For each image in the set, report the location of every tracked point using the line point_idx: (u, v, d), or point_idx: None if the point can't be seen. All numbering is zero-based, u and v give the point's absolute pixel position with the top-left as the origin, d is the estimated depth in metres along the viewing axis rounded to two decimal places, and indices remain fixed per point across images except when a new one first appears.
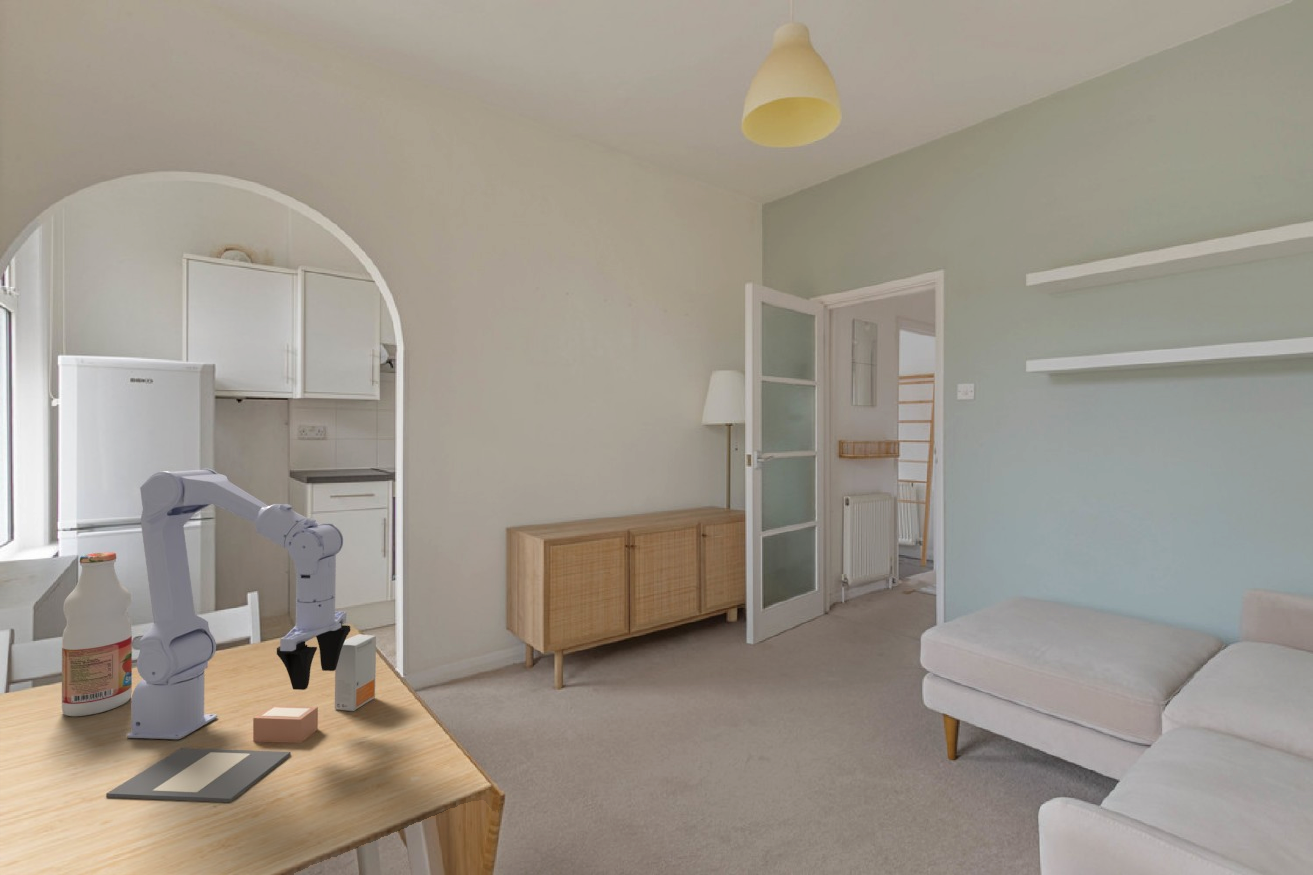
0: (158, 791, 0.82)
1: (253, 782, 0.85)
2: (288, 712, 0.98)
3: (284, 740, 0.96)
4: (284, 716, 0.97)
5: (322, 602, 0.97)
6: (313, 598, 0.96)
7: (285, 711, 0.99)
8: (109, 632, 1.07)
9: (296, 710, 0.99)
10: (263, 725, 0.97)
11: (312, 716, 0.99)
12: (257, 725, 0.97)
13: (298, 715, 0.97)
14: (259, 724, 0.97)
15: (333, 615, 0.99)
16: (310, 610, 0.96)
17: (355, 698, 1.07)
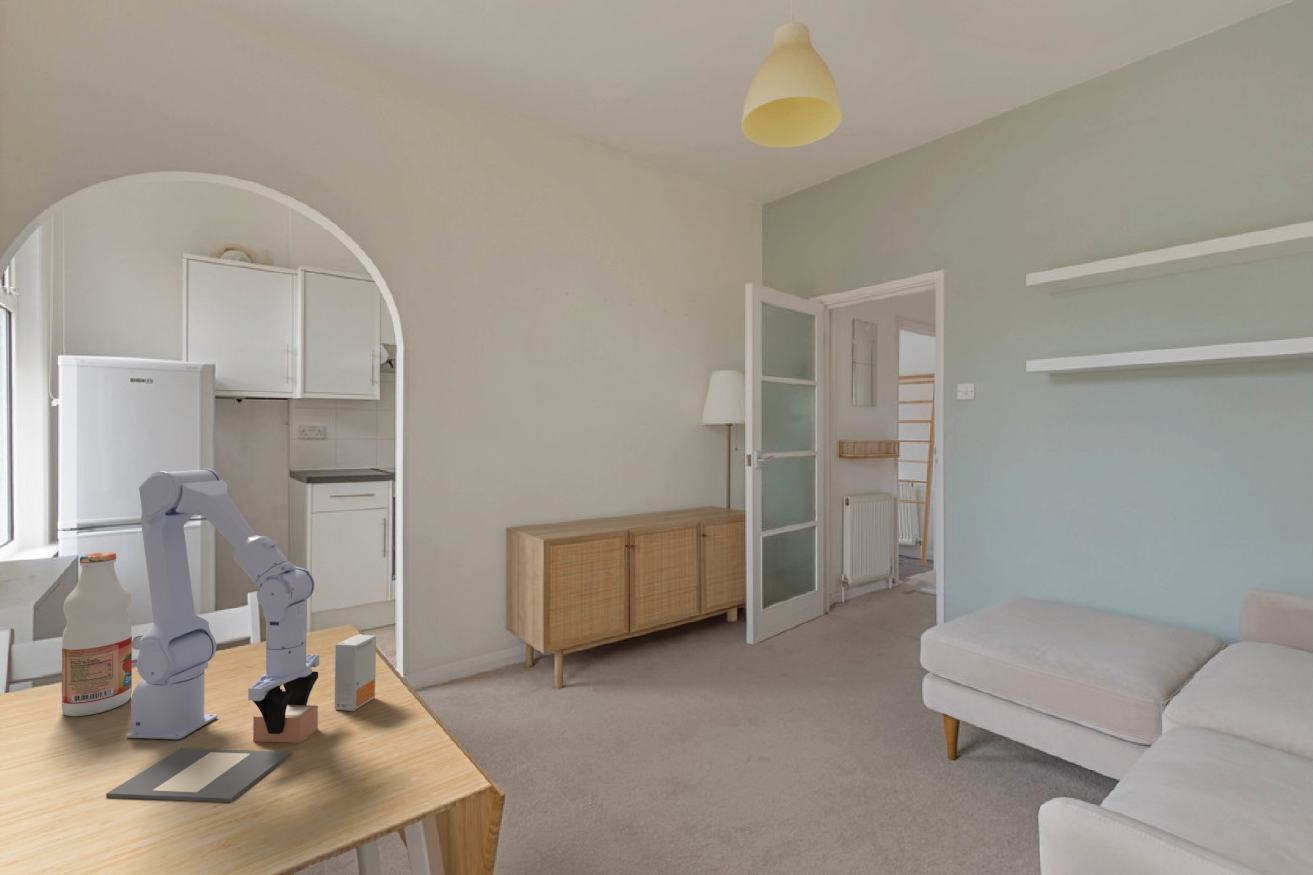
0: (158, 791, 0.82)
1: (253, 782, 0.85)
2: (288, 711, 0.98)
3: (284, 739, 0.96)
4: None
5: (292, 649, 0.97)
6: (282, 645, 0.96)
7: None
8: (109, 632, 1.07)
9: (296, 709, 0.99)
10: (263, 724, 0.97)
11: (312, 715, 0.99)
12: (257, 724, 0.97)
13: (298, 714, 0.97)
14: (259, 723, 0.97)
15: (304, 661, 0.99)
16: (280, 657, 0.96)
17: (355, 698, 1.07)
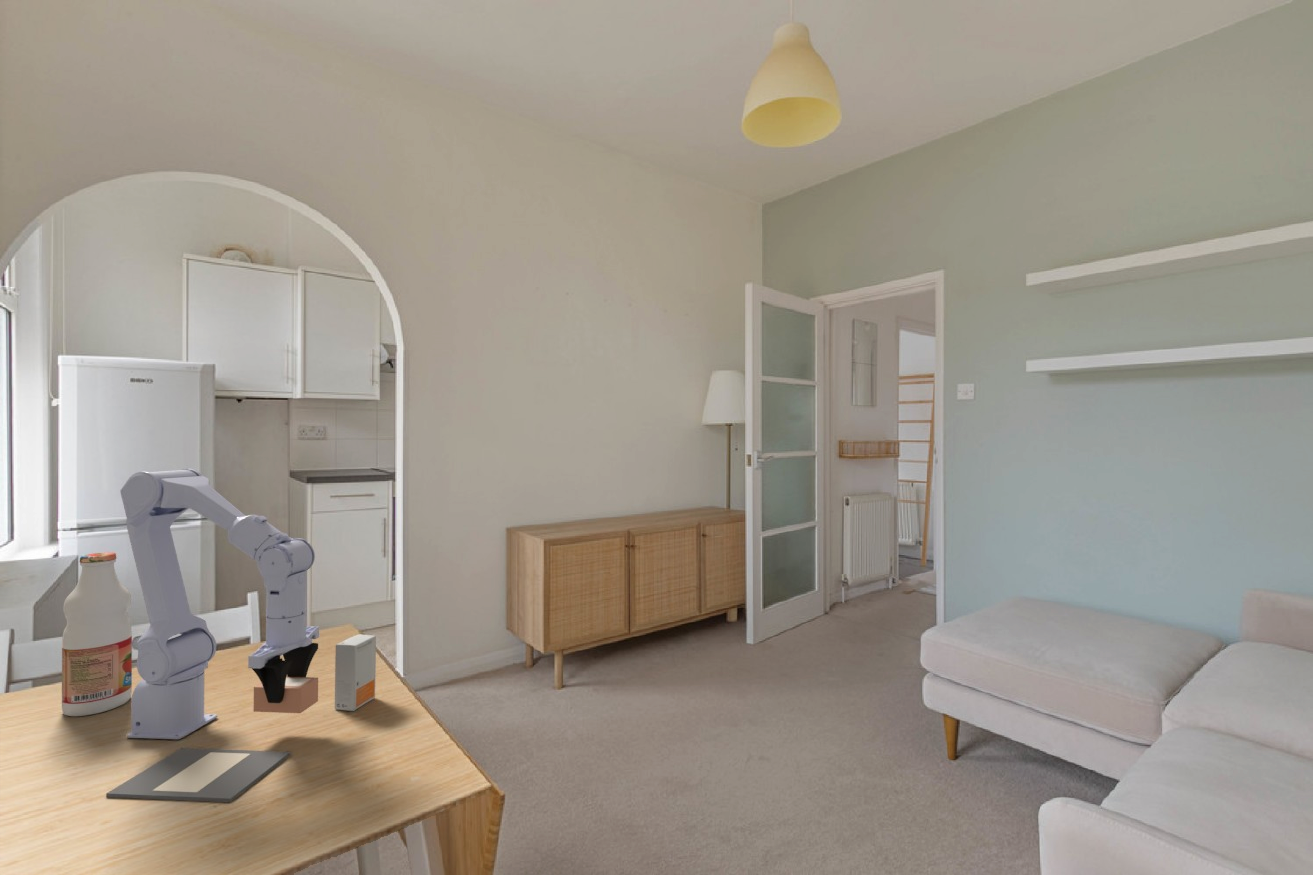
0: (158, 791, 0.82)
1: (253, 782, 0.85)
2: (289, 682, 0.98)
3: (284, 709, 0.96)
4: None
5: (292, 618, 0.97)
6: (282, 614, 0.96)
7: None
8: (109, 632, 1.07)
9: (296, 680, 0.99)
10: (263, 694, 0.97)
11: (312, 686, 0.99)
12: (257, 694, 0.97)
13: (298, 685, 0.97)
14: (260, 693, 0.97)
15: (304, 631, 0.99)
16: (280, 626, 0.96)
17: (355, 698, 1.07)
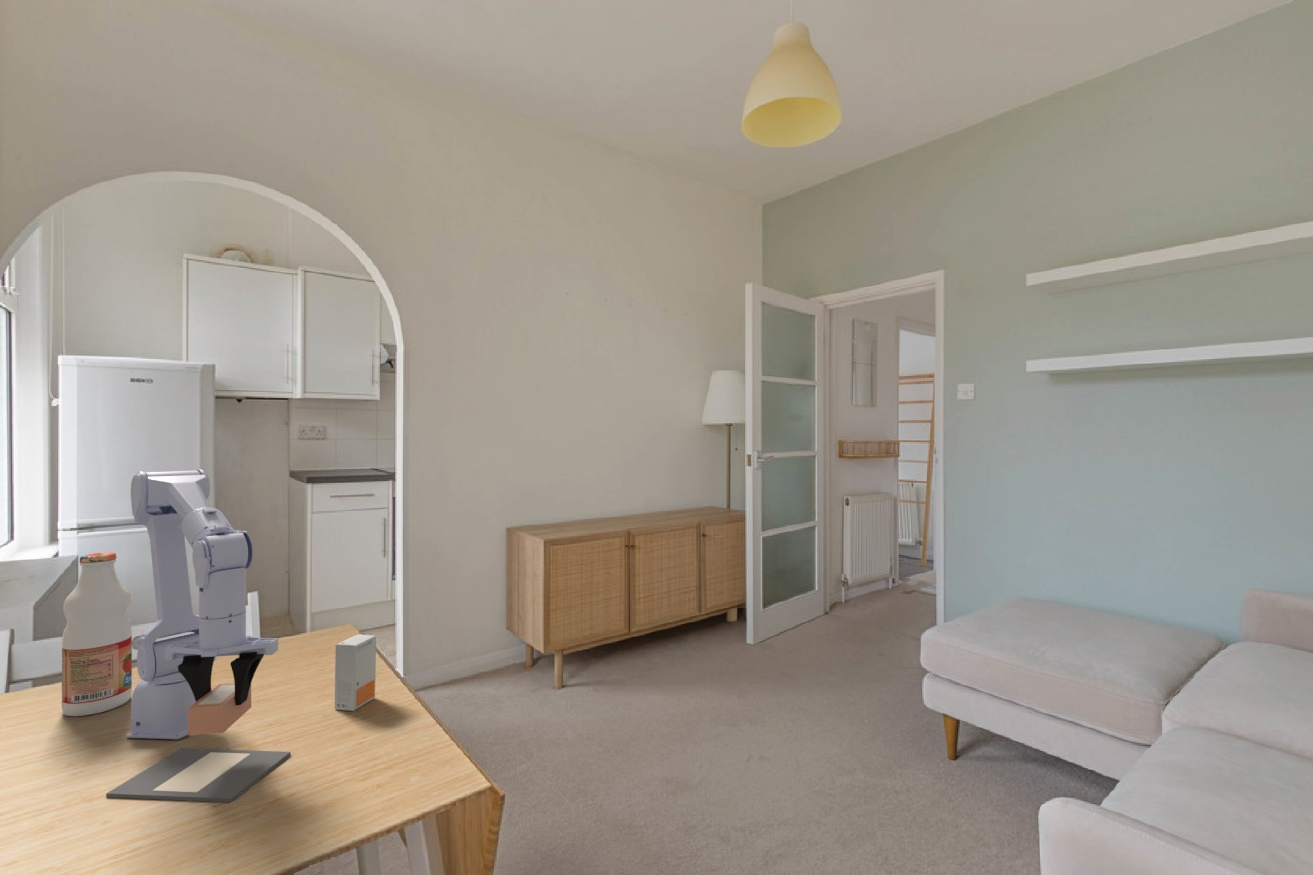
0: (158, 791, 0.82)
1: (253, 782, 0.85)
2: (217, 695, 0.88)
3: None
4: (207, 697, 0.88)
5: (201, 620, 0.87)
6: (206, 614, 0.87)
7: (223, 693, 0.89)
8: (109, 632, 1.07)
9: (220, 697, 0.88)
10: None
11: (211, 712, 0.85)
12: None
13: (202, 702, 0.86)
14: None
15: (215, 639, 0.87)
16: None
17: (355, 698, 1.07)
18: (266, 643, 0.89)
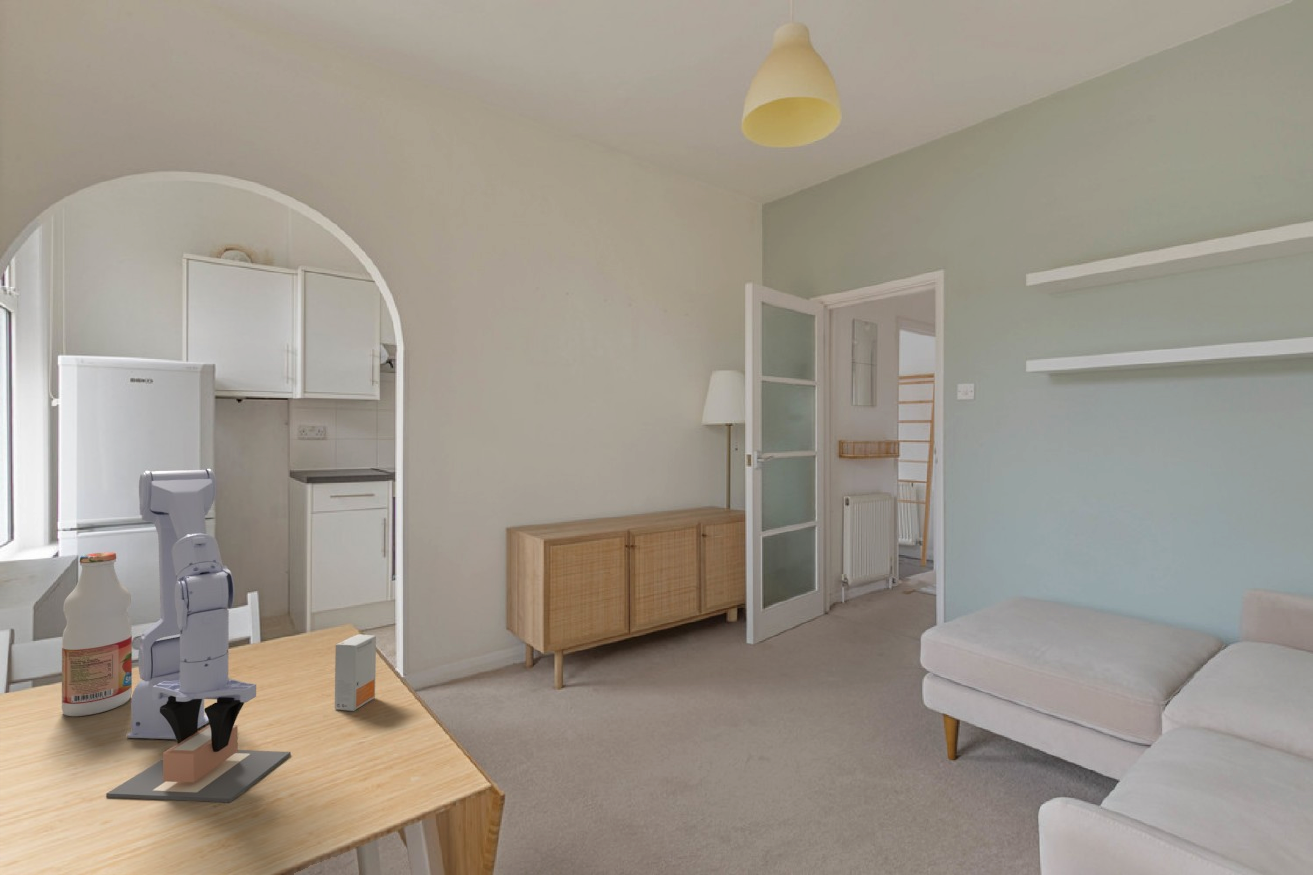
0: (158, 791, 0.82)
1: (253, 782, 0.85)
2: (197, 740, 0.86)
3: None
4: (187, 741, 0.86)
5: (180, 662, 0.85)
6: (184, 657, 0.84)
7: (204, 737, 0.87)
8: (109, 632, 1.07)
9: (197, 743, 0.85)
10: None
11: (183, 760, 0.82)
12: None
13: (178, 748, 0.84)
14: None
15: (190, 683, 0.84)
16: None
17: (355, 698, 1.07)
18: (241, 690, 0.86)
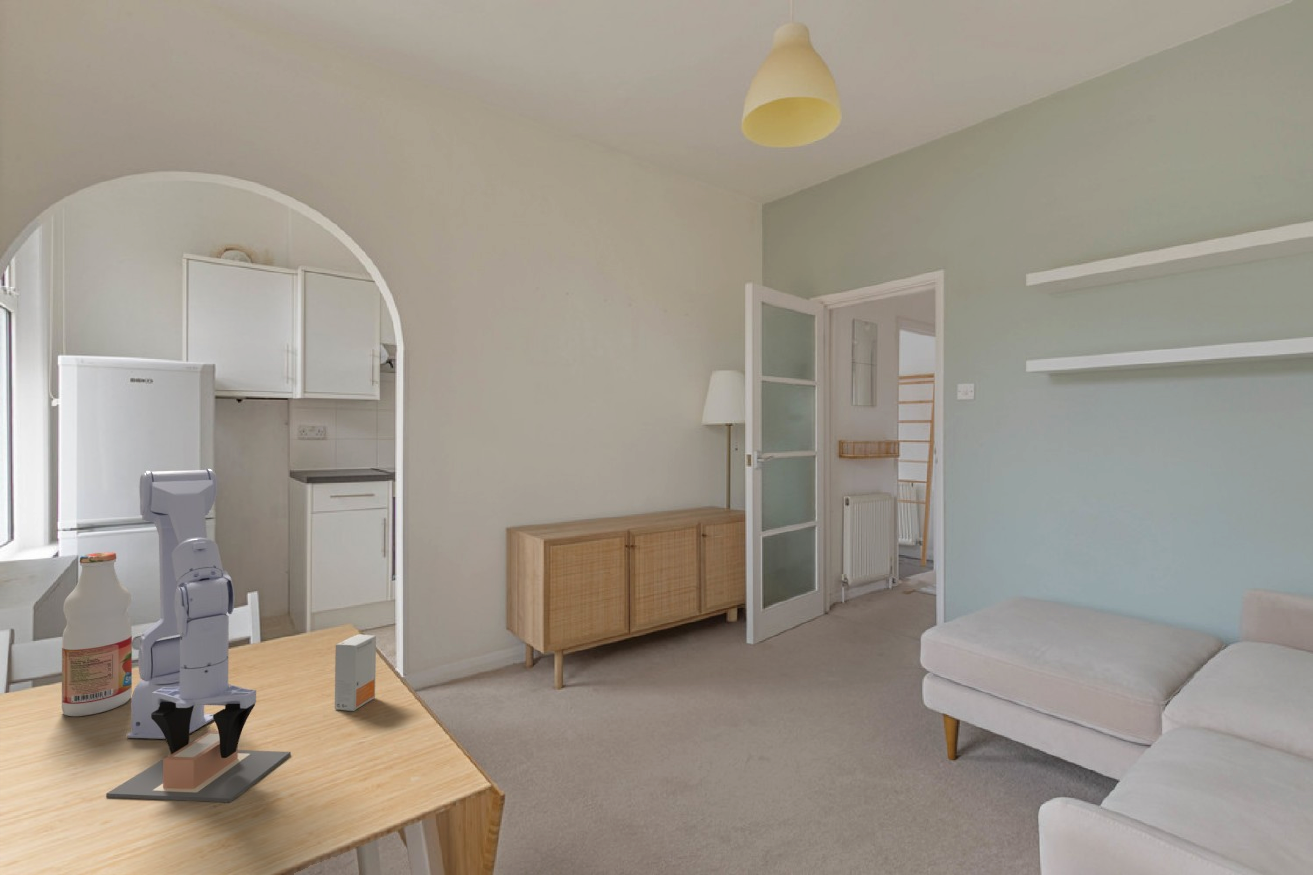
0: (158, 791, 0.82)
1: (253, 782, 0.85)
2: (197, 746, 0.86)
3: None
4: (188, 747, 0.86)
5: (180, 668, 0.85)
6: (185, 663, 0.84)
7: (204, 744, 0.87)
8: (109, 632, 1.07)
9: (198, 750, 0.85)
10: None
11: (183, 766, 0.83)
12: None
13: (178, 754, 0.84)
14: None
15: (190, 689, 0.84)
16: None
17: (355, 698, 1.07)
18: (241, 696, 0.86)
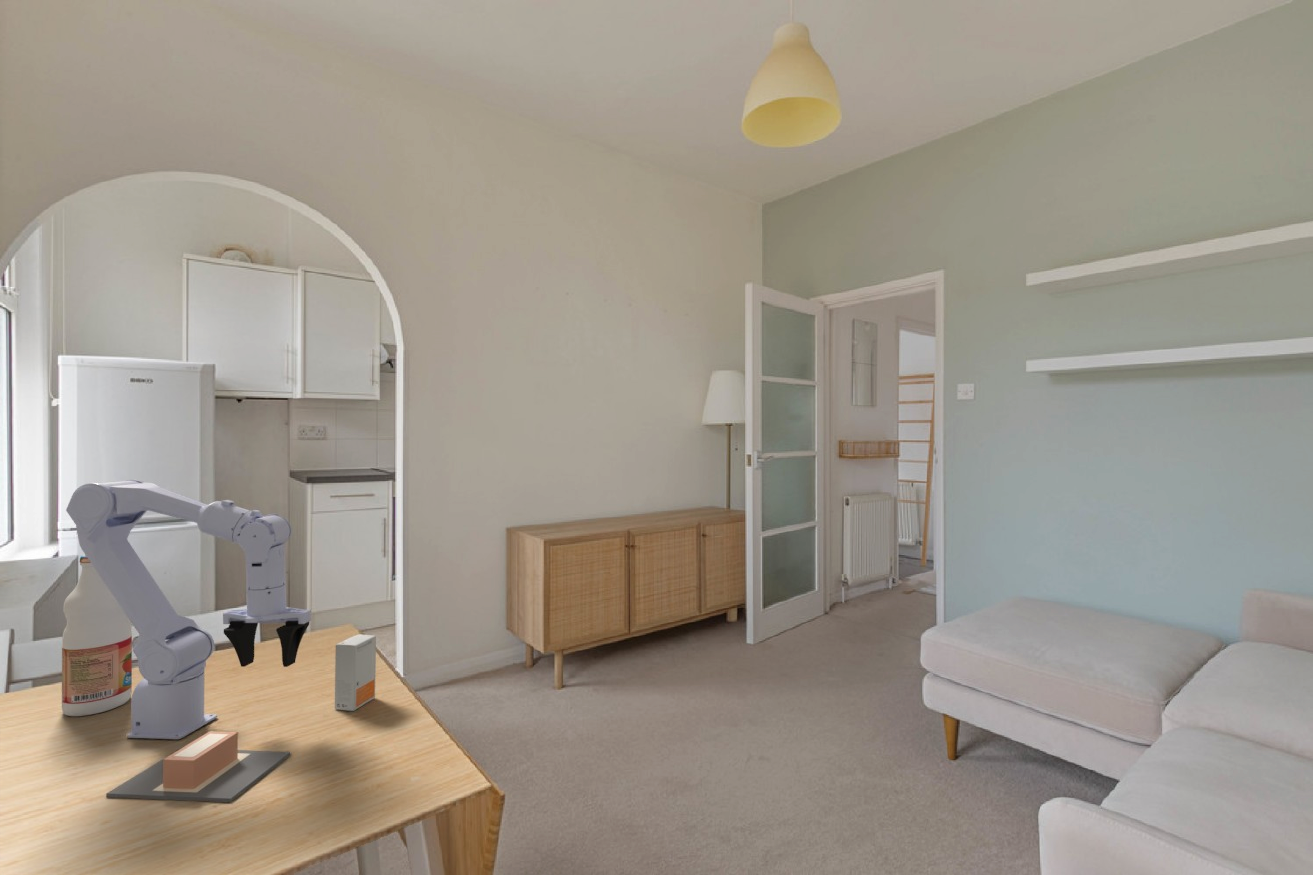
0: (158, 791, 0.82)
1: (253, 782, 0.85)
2: (197, 746, 0.86)
3: None
4: (188, 747, 0.86)
5: (247, 590, 1.00)
6: (265, 585, 1.00)
7: (204, 744, 0.87)
8: (109, 632, 1.07)
9: (198, 750, 0.85)
10: None
11: (183, 766, 0.83)
12: None
13: (178, 754, 0.84)
14: None
15: (257, 607, 0.99)
16: None
17: (355, 698, 1.07)
18: (299, 613, 1.01)
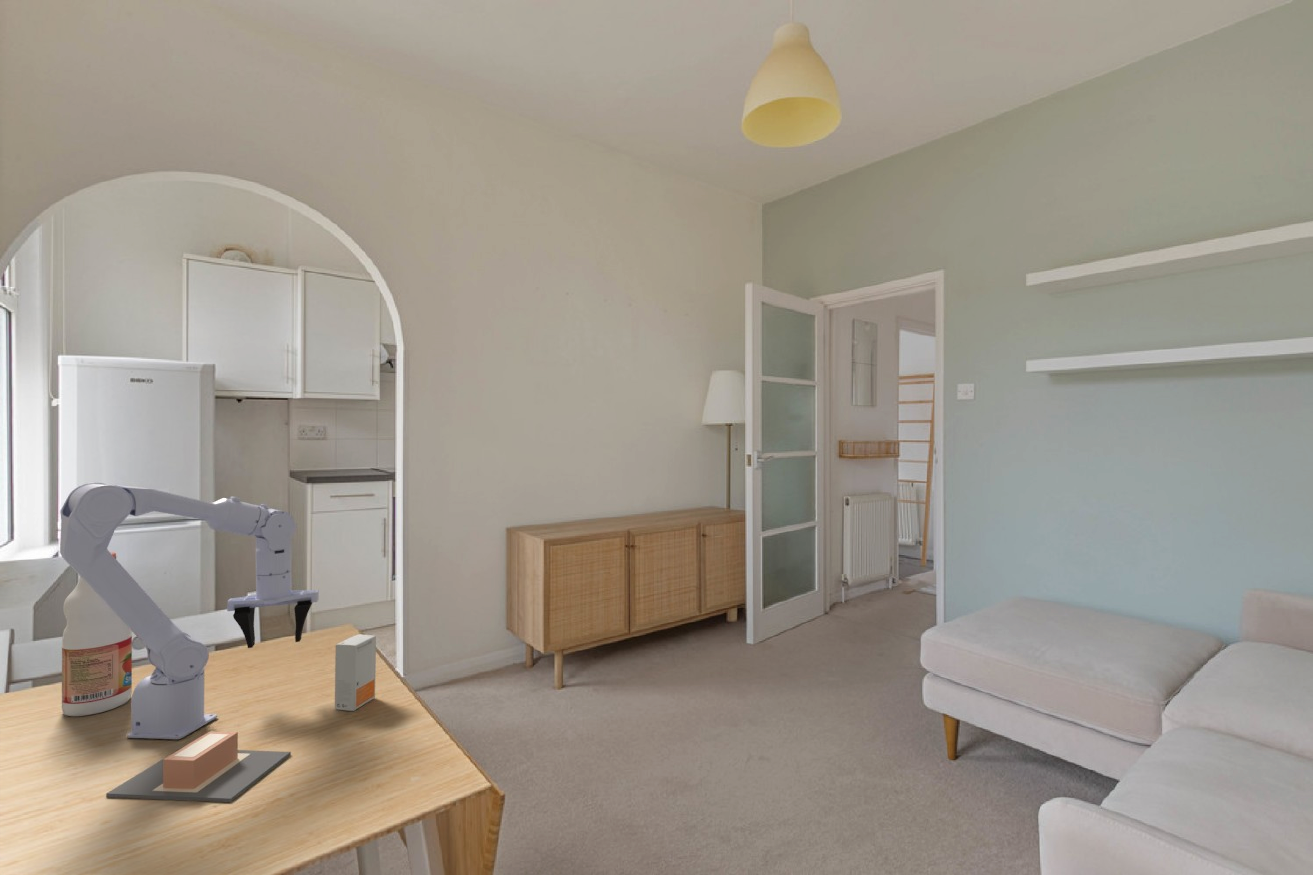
0: (158, 791, 0.82)
1: (253, 782, 0.85)
2: (197, 746, 0.86)
3: None
4: (188, 747, 0.86)
5: (260, 576, 1.10)
6: (286, 569, 1.12)
7: (204, 744, 0.87)
8: (109, 632, 1.07)
9: (198, 750, 0.85)
10: None
11: (183, 766, 0.83)
12: None
13: (178, 754, 0.84)
14: None
15: (273, 591, 1.10)
16: (256, 581, 1.11)
17: (355, 698, 1.07)
18: (312, 593, 1.14)
